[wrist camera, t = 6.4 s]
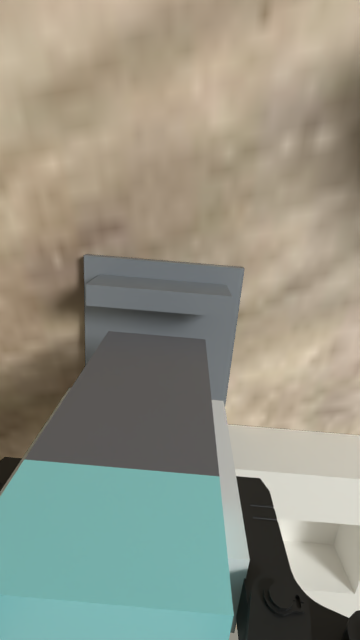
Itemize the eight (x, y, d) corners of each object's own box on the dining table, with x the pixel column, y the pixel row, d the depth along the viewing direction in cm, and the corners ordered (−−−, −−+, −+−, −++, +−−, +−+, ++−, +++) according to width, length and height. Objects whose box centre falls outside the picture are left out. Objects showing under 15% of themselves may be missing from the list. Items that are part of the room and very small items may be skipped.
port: (193, 556, 29) (194, 615, 25) (210, 422, 25) (215, 467, 20) (373, 570, 29) (405, 632, 25) (422, 440, 25) (471, 488, 20)
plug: (107, 413, 19) (-23, 740, 7) (108, 331, 17) (-61, 589, 6) (196, 420, 19) (203, 760, 7) (205, 339, 17) (233, 616, 6)
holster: (88, 414, 25) (72, 447, 21) (86, 254, 21) (66, 262, 18) (220, 425, 25) (225, 460, 21) (243, 266, 21) (253, 278, 18)
